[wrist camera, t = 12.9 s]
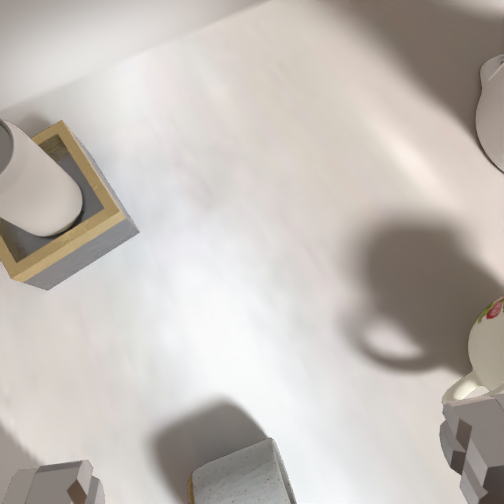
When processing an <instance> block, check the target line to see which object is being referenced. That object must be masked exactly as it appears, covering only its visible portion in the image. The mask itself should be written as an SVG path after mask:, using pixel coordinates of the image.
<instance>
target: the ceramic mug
mask: <svg viewBox="0 0 504 504" xmlns="http://www.w3.org/2000/svg"><path fill="white" fill-rule="evenodd" d="M187 495H188V504H297V503H296V500H295V496H294V493H293V489H292V487H291V484H290V481H289V477H288V474H287V471H286V469H285V466H284V463H283V460H282V457H281V455H280V452H279V450H278V447H277V445H276V442H275V441H274V440H273V439H272V438H268V439H265V440H262V441H260V442H258V443H255V444H253V445H250V446H248V447H245V448H243V449H240V450H237V451H235V452H233V453H231V454H228V455H226V456H223V457H220V458H218V459H215V460H213V461H210V462H208V463H206V464H204V465H202V466H201V467H199V468H197V469H196V470H195V471H194V472H193V473H192V474H191V476H190V478H189V481H188V489H187Z"/></svg>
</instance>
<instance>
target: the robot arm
mask: <svg viewBox="0 0 504 504" xmlns="http://www.w3.org/2000/svg"><path fill="white" fill-rule="evenodd" d="M480 77H481V85H482V93H481V97H480V100H479V102H478V106H477V110H476V130H477V134H478V137H479V140H480V143H481V145H482V147H483V149H484V150H485V152H486V154H487V155H488V156H489V158H490V159H491V160H492V161H493V162H494V164H495V165H496V166H497V167H499V168H500V169H501V170H502V171H503V172H504V54H501V55H498V56H496V57H493V58H491V59H489V60H488V61H487V62H486V63H485V64H484V65H483V66H482V67H481V71H480ZM442 413H443V415H444V417H445V419H446V420H445V421H444V422H443V423H442V424H441V425H440V434H439V436H440V442H441V447H442V450H443V453H444V456H445V458H446V460H447V462H448V464H449V466H450V468H451V469H453V470H454V471H456V472H457V473H458V474H460V475H461V476H462V477H461V482H460V489H461V491H462V493H463V495H464V497H465V499H466V501H467V503H468V504H504V393H501V394H496V395H490V396H488V395H486V396H480V397H474V398H468V399H463V400H457V401H451V402H446V403H445V405H444V406H443V412H442ZM92 472H93V467H92V465H91V463H90V462H89V460H81V461H74V462H67V463H60V464H53V465H46V466H37V467H31V468H25V469H19V470H18V471H17V472H16V473H15V475H14V476H13V477H12V479H11V482H10V484H9V487H8V490H7V492H6V495H5V498H4V500H3V503H2V504H105V494H104V490H103V485H102V484H101V482H100V480H99V479H98V478H96V477H94V476H92Z"/></svg>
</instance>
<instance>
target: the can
mask: <svg viewBox="0 0 504 504" xmlns="http://www.w3.org/2000/svg"><path fill="white" fill-rule="evenodd" d="M81 208H82V194H81V191H80V188H79V186H78V185H77V183H76V182H75V181H74V180H73V179H72V178H71V177H70V176H69V175H68V174H67V173H66V172H65V171H64V170H63V169H62V168H61V167H60V166H59V165H58V164H57V163H56V162H55V161H54V160H53V159H51V158H50V157H49V156H48V155H47V154H46V153H45V152H44V151H43V150H42V149H41V148H40V147H39V146H38V145H37V144H36V143H35V142H34V141H33V140H31V139H30V138H29V137H28V136H27V135H26V134H25V133H24V132H23V131H22V130H20V129H19V128H18V127H17V126H15V125H14V124H12V123H10V122H8V121H5V120H1V119H0V217H1V218H3V219H4V220H6V221H8V222H10V223H12V224H14V225H16V226H17V227H19V228H21V229H23V230H25V231H27V232H29V233H31V234H34V235H37V236H43V237H46V236H52V235H56V234H58V233H61V232H63V231H65V230H66V229H68V228H69V227H70V226H71V225H72V224H73V223H74V222H75V221H76V219H77V218H78V216H79V214H80V211H81Z"/></svg>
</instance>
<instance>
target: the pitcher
mask: <svg viewBox="0 0 504 504" xmlns="http://www.w3.org/2000/svg"><path fill="white" fill-rule="evenodd" d="M468 353H469V358H470V362H471V364H472V366H473V370H472V372H471V373H469V374H468V375H466V376H465V377H463V378H462V379H460V380H459V381H458V382H456V383H455V384H454V385H452V386H451V387H450V388H449V389H448V390H447V391H446V392H445V393H444V395H443V397H442V404H443V406H444V405H445V403H446V402H451V401H457V400H463V398H464V397H465V396H466V395H468V394H469V393H470V392H471V391H473V390H474V389H476V388H477V387H479V386H482V385H484V386H485V387H486V388H487V389H488V390H489V391H490V392H488V393H486V394H484V395H481V396H486V395H488V396H490V395H496V394H501V393H504V296H502V297H500V298H498V299H497V300H495V301H494V302H492V303H491V304H490V305H489V306H488V307H487V308H486V309H484V310H483V312H482V313H481V314H480V315H479V316H478V318H477V319H476V321H475V323H474V324H473V327H472V329H471V332H470V335H469V340H468ZM479 397H480V396H479Z"/></svg>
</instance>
